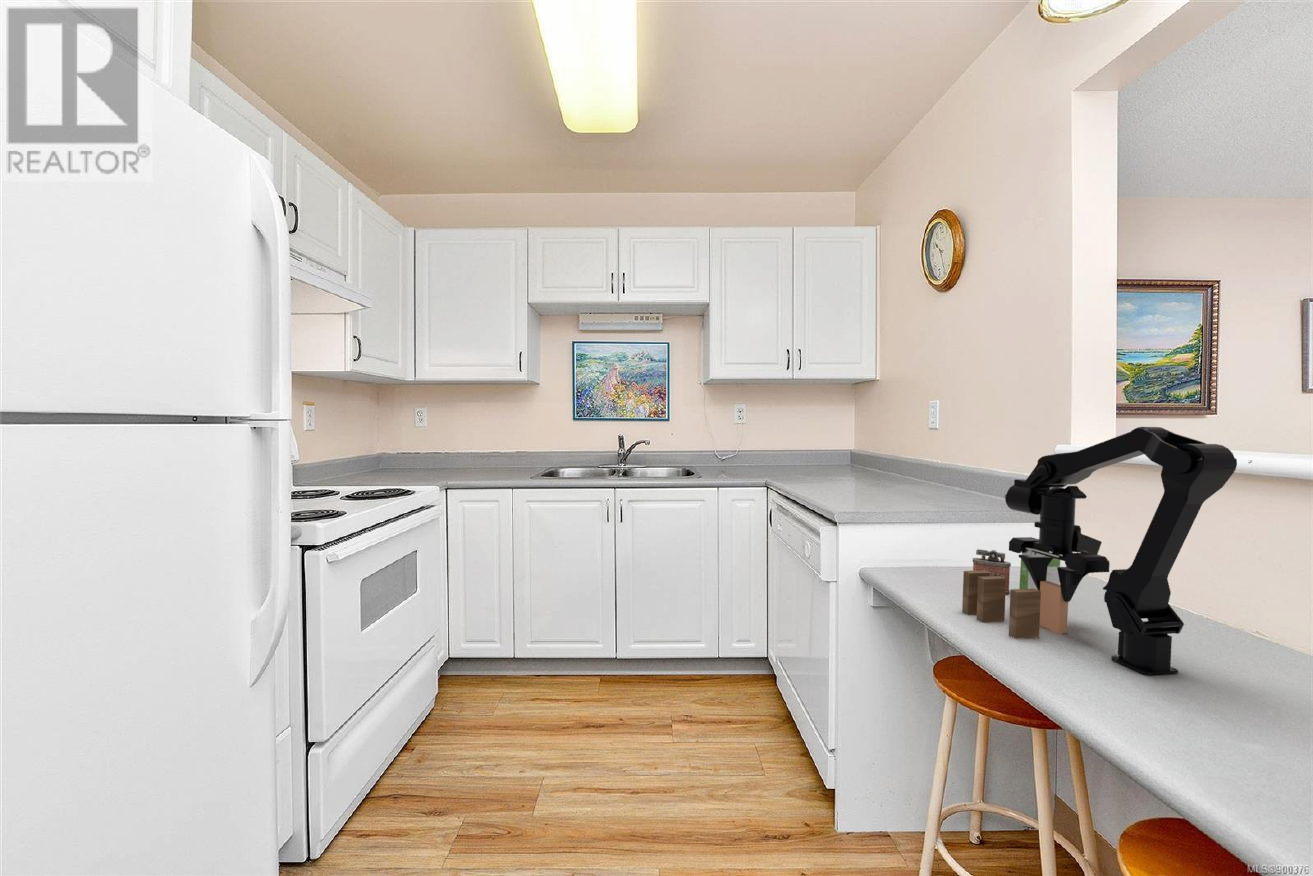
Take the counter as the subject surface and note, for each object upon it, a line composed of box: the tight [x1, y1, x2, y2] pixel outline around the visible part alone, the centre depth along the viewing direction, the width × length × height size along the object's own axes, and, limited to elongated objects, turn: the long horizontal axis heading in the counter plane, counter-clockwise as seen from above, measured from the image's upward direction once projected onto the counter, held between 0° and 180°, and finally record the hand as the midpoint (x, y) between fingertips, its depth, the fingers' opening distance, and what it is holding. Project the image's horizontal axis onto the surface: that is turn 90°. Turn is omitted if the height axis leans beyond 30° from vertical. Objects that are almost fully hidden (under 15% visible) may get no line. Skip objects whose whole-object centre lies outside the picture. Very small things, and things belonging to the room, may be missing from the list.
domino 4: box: [1039, 581, 1069, 635], centre depth 118 cm, size 2×5×9 cm, turn 9°
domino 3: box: [1008, 588, 1041, 640], centre depth 114 cm, size 2×5×9 cm, turn 99°
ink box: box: [1018, 554, 1061, 590], centre depth 138 cm, size 7×4×13 cm, turn 84°
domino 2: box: [976, 576, 1006, 623], centre depth 123 cm, size 2×5×9 cm, turn 99°
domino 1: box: [961, 570, 991, 616], centre depth 127 cm, size 2×5×9 cm, turn 99°
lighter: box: [972, 548, 1012, 596], centre depth 144 cm, size 8×3×10 cm, turn 58°
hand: (1053, 596), depth 118 cm, fingers open, 6 cm apart
